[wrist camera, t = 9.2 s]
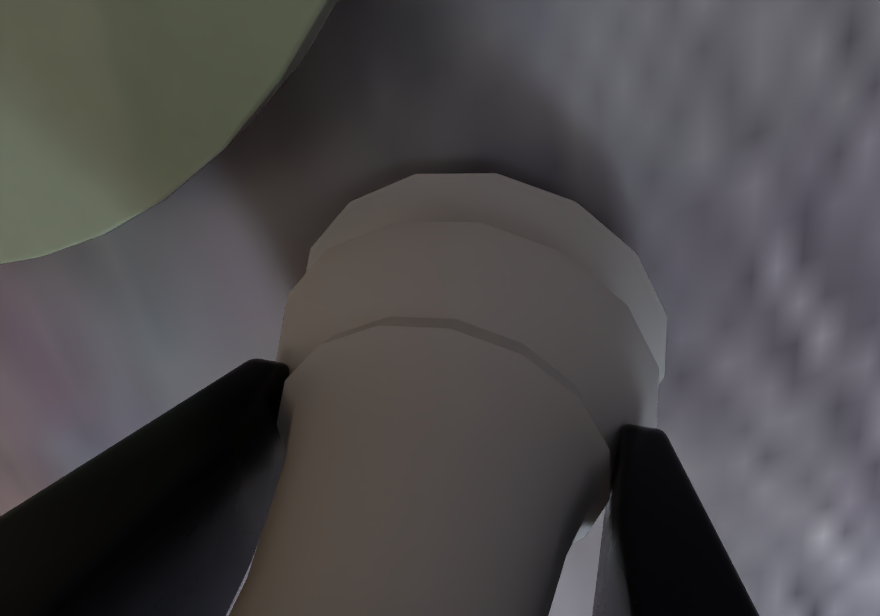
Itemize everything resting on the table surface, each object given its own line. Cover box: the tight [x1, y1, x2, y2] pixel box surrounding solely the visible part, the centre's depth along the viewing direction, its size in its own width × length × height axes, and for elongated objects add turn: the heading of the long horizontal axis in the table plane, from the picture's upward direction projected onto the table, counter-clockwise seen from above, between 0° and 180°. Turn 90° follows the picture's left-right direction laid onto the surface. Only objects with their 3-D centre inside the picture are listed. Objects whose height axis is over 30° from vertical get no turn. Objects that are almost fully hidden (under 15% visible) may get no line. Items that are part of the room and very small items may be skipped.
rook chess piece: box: [229, 173, 667, 616], centre depth 7 cm, size 4×4×8 cm
